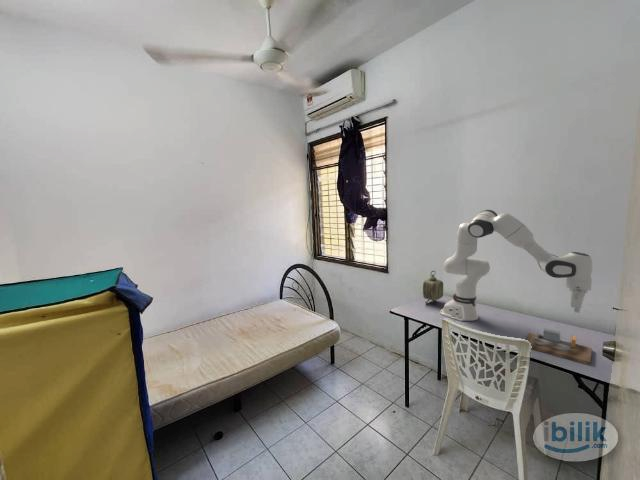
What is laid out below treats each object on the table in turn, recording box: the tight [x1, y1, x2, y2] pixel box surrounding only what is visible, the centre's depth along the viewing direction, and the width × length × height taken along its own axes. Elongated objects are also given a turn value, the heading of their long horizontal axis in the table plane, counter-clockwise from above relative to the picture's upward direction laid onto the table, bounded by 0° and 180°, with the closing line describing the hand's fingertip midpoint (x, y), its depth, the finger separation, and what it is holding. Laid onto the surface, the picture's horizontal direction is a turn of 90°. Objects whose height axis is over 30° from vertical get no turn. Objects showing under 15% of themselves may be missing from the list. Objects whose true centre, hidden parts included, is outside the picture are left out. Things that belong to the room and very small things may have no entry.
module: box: [542, 328, 561, 344], centre depth 132 cm, size 6×3×7 cm, turn 43°
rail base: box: [525, 332, 593, 366], centre depth 131 cm, size 24×16×4 cm, turn 43°
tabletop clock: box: [422, 270, 444, 305], centre depth 198 cm, size 14×9×25 cm, turn 130°
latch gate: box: [571, 334, 577, 347], centre depth 130 cm, size 1×6×4 cm, turn 133°
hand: (577, 311), depth 132 cm, fingers closed
